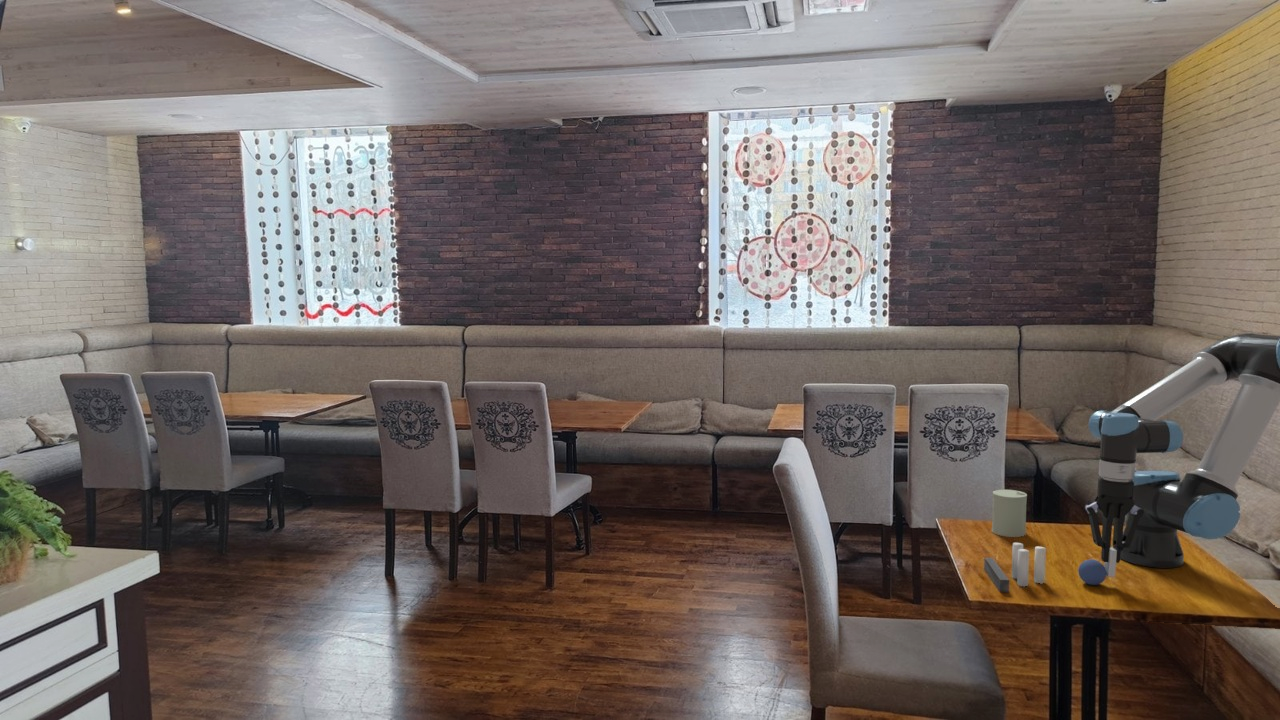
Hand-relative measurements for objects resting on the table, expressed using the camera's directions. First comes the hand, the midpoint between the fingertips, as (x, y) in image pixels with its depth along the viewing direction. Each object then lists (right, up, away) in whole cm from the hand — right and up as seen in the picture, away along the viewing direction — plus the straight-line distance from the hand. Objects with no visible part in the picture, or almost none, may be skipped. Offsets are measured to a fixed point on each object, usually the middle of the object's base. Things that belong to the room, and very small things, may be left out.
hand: (1109, 575), depth 211 cm
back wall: (-25, -2, +5) cm, 26 cm away
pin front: (-15, -2, +3) cm, 16 cm away
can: (-6, +2, +43) cm, 44 cm away
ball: (-4, 0, +1) cm, 4 cm away
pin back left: (-20, -3, +1) cm, 20 cm away
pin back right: (-19, -2, +6) cm, 21 cm away
